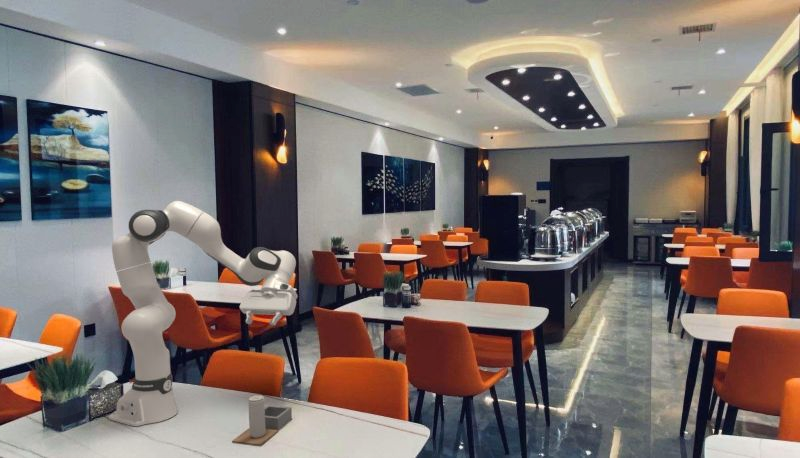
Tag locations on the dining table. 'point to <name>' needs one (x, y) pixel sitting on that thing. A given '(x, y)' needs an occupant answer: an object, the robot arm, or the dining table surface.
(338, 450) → the dining table surface
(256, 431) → the beverage can
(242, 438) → the coaster
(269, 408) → the can holder
